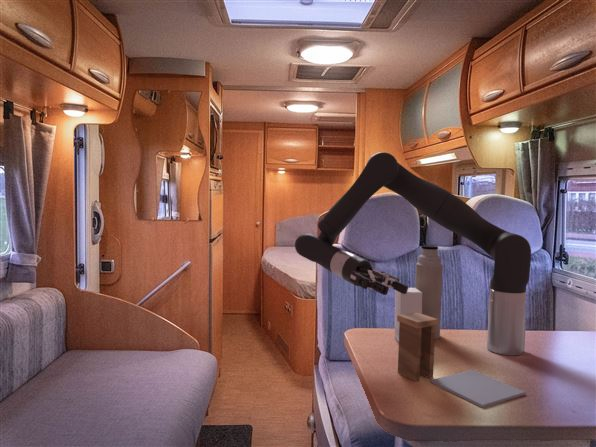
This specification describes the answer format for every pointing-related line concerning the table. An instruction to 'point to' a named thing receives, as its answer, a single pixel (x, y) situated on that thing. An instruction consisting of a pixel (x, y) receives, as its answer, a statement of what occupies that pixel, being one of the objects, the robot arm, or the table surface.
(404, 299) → the skincare box
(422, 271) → the thermos bottle
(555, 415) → the table surface
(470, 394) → the mat
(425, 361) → the stool
